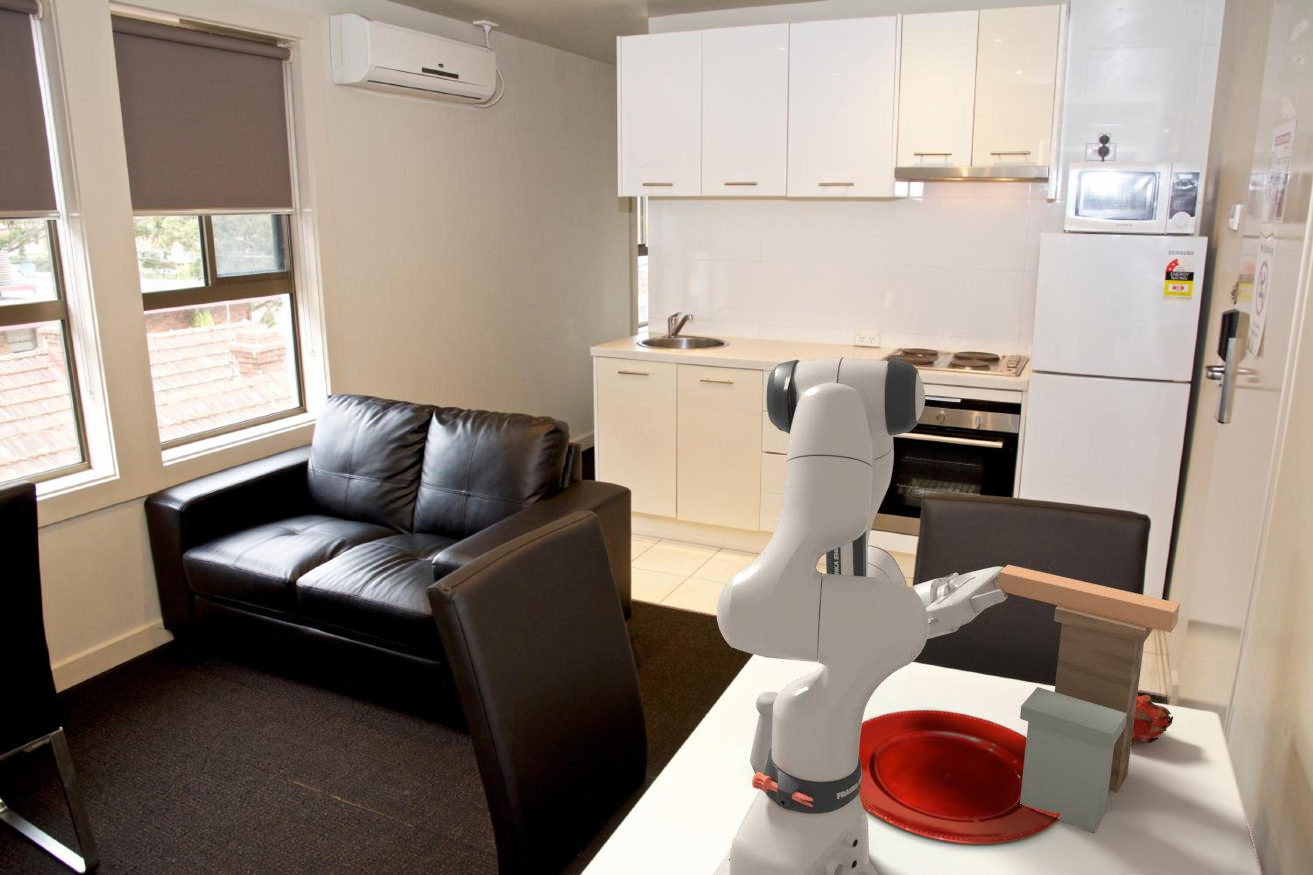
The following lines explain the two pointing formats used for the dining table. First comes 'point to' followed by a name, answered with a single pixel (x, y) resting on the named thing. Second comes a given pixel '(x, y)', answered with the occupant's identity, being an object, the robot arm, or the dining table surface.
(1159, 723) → the dragon fruit
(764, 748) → the salt shaker
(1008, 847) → the dining table surface
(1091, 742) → the low stand
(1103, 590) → the bar
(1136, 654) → the tall stand
